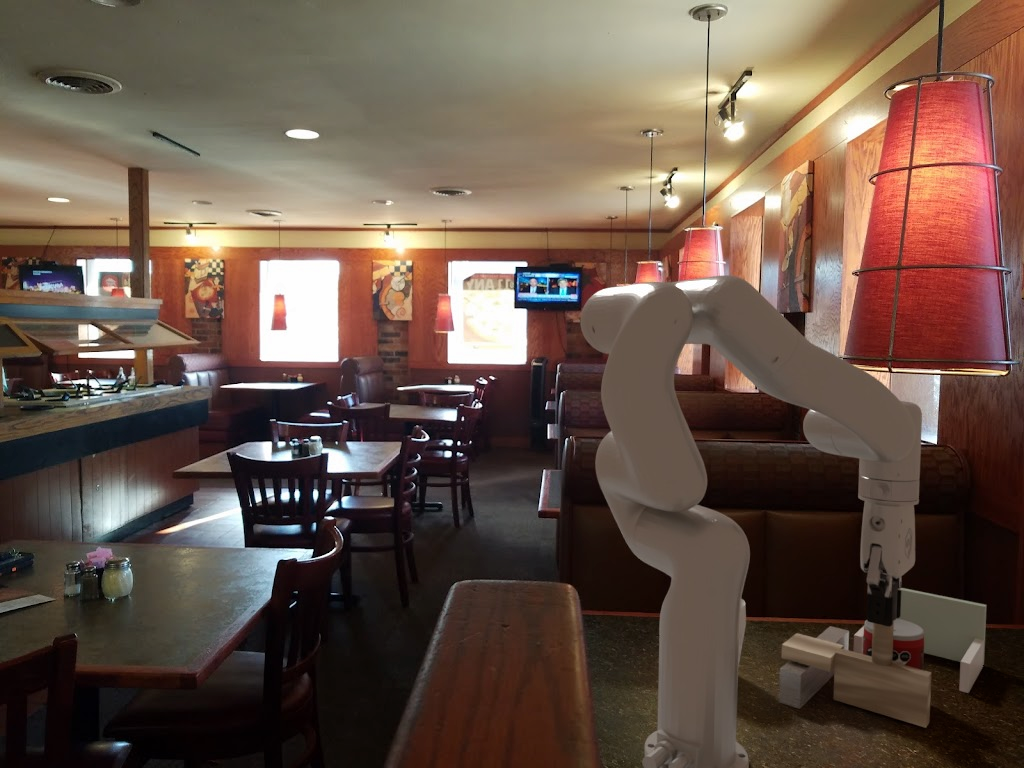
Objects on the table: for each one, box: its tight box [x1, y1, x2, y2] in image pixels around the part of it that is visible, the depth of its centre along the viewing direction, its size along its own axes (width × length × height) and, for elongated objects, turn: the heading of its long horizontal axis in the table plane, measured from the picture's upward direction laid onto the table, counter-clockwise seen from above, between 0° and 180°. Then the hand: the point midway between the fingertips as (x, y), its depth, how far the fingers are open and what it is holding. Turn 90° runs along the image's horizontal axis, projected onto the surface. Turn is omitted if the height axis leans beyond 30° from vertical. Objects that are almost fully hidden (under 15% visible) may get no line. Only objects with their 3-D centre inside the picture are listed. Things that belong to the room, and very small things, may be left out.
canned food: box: [863, 619, 925, 670], centre depth 109 cm, size 8×8×11 cm
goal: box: [852, 587, 988, 694], centre depth 122 cm, size 13×16×10 cm
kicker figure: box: [781, 578, 932, 729], centre depth 107 cm, size 6×19×18 cm, turn 49°
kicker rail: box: [778, 626, 850, 710], centre depth 115 cm, size 22×3×5 cm, turn 139°
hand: (883, 618), depth 104 cm, fingers closed on kicker figure, 3 cm apart
